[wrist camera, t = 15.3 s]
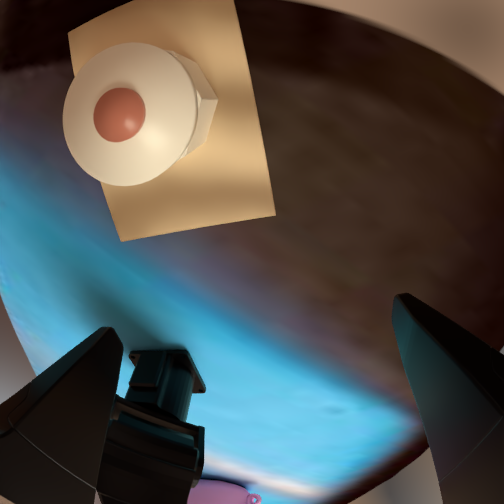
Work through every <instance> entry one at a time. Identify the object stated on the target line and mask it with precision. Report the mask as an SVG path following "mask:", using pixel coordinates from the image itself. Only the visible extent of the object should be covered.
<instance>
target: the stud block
mask: <svg viewBox="0 0 504 504" xmlns="http://www.w3.org/2000/svg"><path fill="white" fill-rule="evenodd" d="M68 37H69V45H70V52H71V59H72V65H73V71H74V77H75V76H76V75H77V73H78V72H79V71H80V69H81V68H82V67H83V66H84V65H85V64H86V63H87V62H88V61H89V60H90V59H91V58H92V57H94V56H95V55H96V54H98V53H100V52H101V51H103V50H105V49H107V48H109V47H112V46H115V45H118V44H122V43H130V42H136V43H145V44H150V45H153V46H156V47H158V48H161V49H163V50H170V51H174V52H176V53H178V54H180V55H182V56H184V57H186V58H188V59H190V60H192V61H194V62H196V63H197V64H198V66H199V67H200V69H201V71H202V72H203V74H204V76H205V77H206V79H207V81H208V83H209V84H210V86H211V88H212V89H213V91H214V93H215V95H216V96H217V98H218V102H217V106H216V109H215V112H214V115H213V119H212V122H211V125H210V129H209V132H208V136H207V139H206V142H205V143H203V144H202V145H200V146H199V147H198V148H196V149H195V150H193V151H192V152H190V153H189V154H188V155H186V156H185V157H183V158H181V159H180V160H178V161H176V162H175V163H174V164H173V165H172V166H171V167H170V168H168V169H167V170H166V171H164V172H163V173H161V174H160V175H159V176H157V177H155V178H153V179H152V180H150V181H147V182H144V183H142V184H138V185H133V186H115V185H110V184H107V183H104V182H101V181H100V182H101V185H102V188H103V191H104V194H105V198H106V201H107V204H108V206H109V209H110V212H111V215H112V218H113V221H114V224H115V226H116V229H117V232H118V235H119V237H120V240H121V242H123V241H128V240H133V239H139V238H144V237H149V236H155V235H160V234H166V233H171V232H177V231H182V230H188V229H194V228H200V227H206V226H212V225H218V224H224V223H230V222H236V221H242V220H249V219H255V218H261V217H268V216H275V215H276V213H275V205H274V199H273V193H272V188H271V182H270V176H269V171H268V165H267V160H266V154H265V149H264V143H263V138H262V133H261V127H260V122H259V117H258V112H257V107H256V102H255V97H254V92H253V87H252V82H251V77H250V72H249V67H248V62H247V58H246V53H245V48H244V44H243V39H242V34H241V30H240V25H239V21H238V17H237V12H236V8H235V4H234V0H134V1H131V2H129V3H126V4H124V5H122V6H119V7H117V8H115V9H113V10H111V11H108V12H106V13H104V14H102V15H100V16H98V17H96V18H94V19H92V20H90V21H88V22H87V23H85V24H83V25H81V26H79V27H77V28H76V29H74V30H72V31H70V32H69V33H68Z"/></svg>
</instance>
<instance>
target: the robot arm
mask: <svg viewBox="0 0 504 504" xmlns="http://www.w3.org/2000/svg"><path fill="white" fill-rule="evenodd" d="M392 324H393V328H394V331H395V335H396V339H397V343H398V346H399V350H400V354H401V359H402V362H403V366H404V369H405V372H406V375H407V377H408V380H409V383H410V386H411V389H412V392H413V395H414V398H415V400H416V404H417V407H418V410H419V413H420V416H421V419H422V422H423V426H424V429H425V432H426V436H427V439H428V443H429V446H430V449H431V453H432V457H433V461H434V465H435V469H436V472H437V477H438V481H439V486H440V491H441V496H442V500H443V504H504V355H503V354H502V353H500V352H499V351H497V350H496V349H494V348H493V347H492V348H491V346H490V345H488V344H487V343H485V342H484V341H482V340H481V339H479V338H478V337H476V336H475V335H473V334H472V333H470V332H469V331H467V330H466V329H464V328H463V327H461V326H460V325H458V324H457V323H455V322H454V321H452V320H450V319H449V318H447V317H446V316H444V315H443V314H441V313H440V312H438V311H436V310H435V309H433V308H432V307H430V306H429V305H427V304H425V303H424V302H422V301H421V300H419V299H417V298H416V297H414V296H412V295H411V294H409V293H402V294H397V295H396V296H395V297H394V302H393V310H392ZM123 350H124V349H123V344H122V342H121V340H120V338H119V337H118V335H117V333H116V332H115V330H114V329H113V328H112V327H101V328H99V329H98V330H97V331H95V332H94V333H93V334H91V335H90V336H89V337H87V338H86V339H85V340H83V341H82V342H81V343H80V344H78V345H77V346H76V347H74V348H73V349H72V350H70V351H69V352H68V353H67V354H65V355H64V356H63V357H61V358H60V359H59V360H57V361H56V362H55V363H54V364H52V365H51V366H50V367H48V368H47V369H46V370H45V371H43V372H42V373H41V374H40V375H38V376H37V377H36V378H35V379H33V380H32V381H31V382H30V383H28V384H27V385H26V386H24V387H23V388H22V389H21V390H19V391H18V392H17V393H15V394H14V395H13V396H11V397H10V398H9V399H7V400H6V401H4V402H3V403H2V404H0V504H94V499H95V493H96V490H97V492H98V495H99V498H100V501H101V503H102V504H187V501H188V496H189V493H190V490H191V488H195V487H196V485H197V484H198V482H199V480H200V477H201V474H202V471H203V466H204V434H205V427H202V426H196V425H193V424H190V423H187V422H186V419H187V414H188V410H189V405H190V400H191V396H192V393H205V392H206V387H205V385H204V383H203V381H202V379H201V377H200V375H199V373H198V371H197V369H196V367H195V365H194V363H193V361H192V359H191V357H190V354H189V353H188V352H187V351H185V350H167V351H131V352H130V353H129V358H130V360H131V361H132V363H133V364H134V366H135V369H134V371H133V374H132V376H131V379H130V381H129V385H130V386H129V388H128V391H127V393H126V396H125V399H124V398H122V397H120V396H119V395H117V394H116V390H117V386H118V380H119V374H120V368H121V362H122V356H123Z"/></svg>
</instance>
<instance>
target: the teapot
mask: <svg viewBox="0 0 504 504" xmlns="http://www.w3.org/2000/svg"><path fill="white" fill-rule="evenodd" d="M254 498H256V499H257V501H256V502H255V503H253V502H254ZM260 503H261V497H260V495H258V494H250V493H249V492H248V491H247V490H246V489H245V488H243V487H241V486H238V485H235V484H231V483H227V482H224V481H220V480H204V479H200V480H199V482H198V484H197V485H196V487H195V488H191V490H190V493H189V496H188V501H187V504H260Z"/></svg>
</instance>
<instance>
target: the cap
mask: <svg viewBox="0 0 504 504" xmlns="http://www.w3.org/2000/svg"><path fill="white" fill-rule="evenodd" d="M217 102H218V98H217V96H216V95H215V93H214V91H213V89H212V88H211V86H210V84H209V83H208V81H207V79H206V77H205V76H204V74H203V72H202V71H201V69H200V67H199V66H198V64H197V63H196V62H194V61H192V60H190V59H188V58H186V57H184V56H182V55H180V54H178V53H176V52H174V51H170V50H163V49H161V48H158V47H156V46H153V45H150V44H145V43H136V42H130V43H122V44H118V45H115V46H112V47H109V48H107V49H105V50H103V51H101V52H100V53H98V54H96V55H95V56H94V57H92V58H91V59H90V60H89V61H88V62H87V63H86V64H85V65H84V66H83V67H82V68H81V69H80V71H79V72H78V73H77V75H76V76H75V78H74V80H73V81H72V83H71V85H70V88H69V90H68V93H67V96H66V99H65V103H64V110H63V129H64V135H65V139H66V142H67V145H68V148H69V150H70V152H71V154H72V156H73V157H74V159H75V160H76V162H77V163H78V164H79V165H80V167H81V168H82V169H83V170H84V171H86V172H87V173H88V174H89V175H91V176H92V177H94V178H95V179H97V180H99V181H101V182H104V183H107V184H110V185H115V186H133V185H138V184H142V183H144V182H147V181H150V180H152V179H153V178H155V177H157V176H159V175H160V174H161V173H163V172H164V171H166V170H167V169H168V168H170V167H171V166H172V165H173V164H174V163H175V162H176V161H178V160H180V159H181V158H183V157H185V156H186V155H188V154H189V153H190V152H192V151H193V150H195V149H196V148H198V147H199V146H200V145H202V144H203V143H205V142H206V139H207V136H208V132H209V129H210V125H211V122H212V119H213V115H214V112H215V109H216V106H217Z"/></svg>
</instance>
